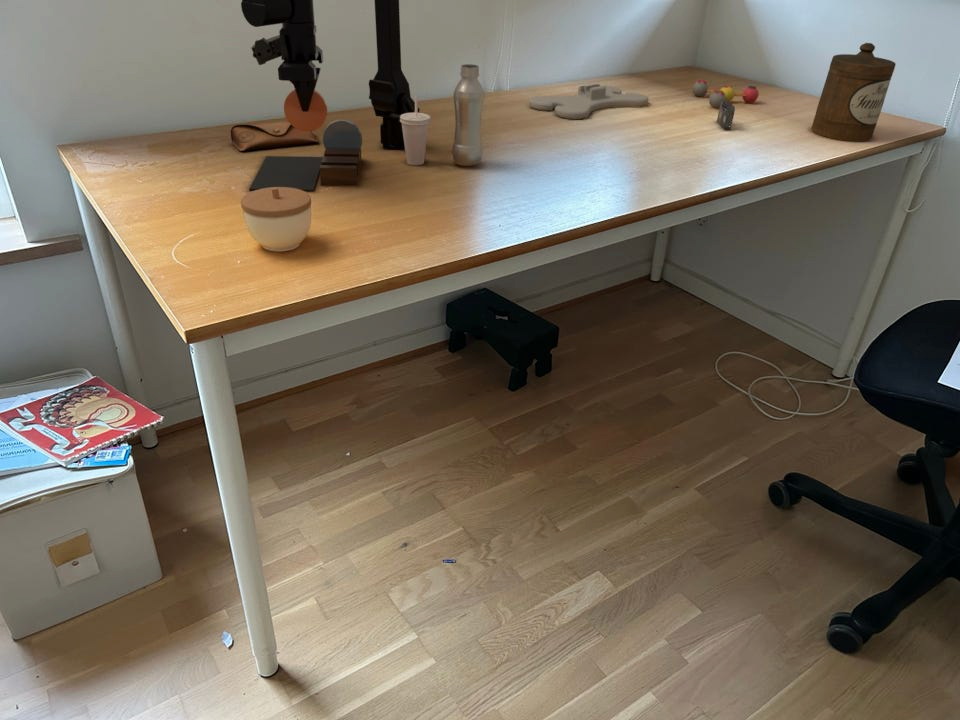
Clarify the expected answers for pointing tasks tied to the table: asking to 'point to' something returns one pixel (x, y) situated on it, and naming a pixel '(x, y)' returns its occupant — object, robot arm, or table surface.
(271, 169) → the grey mat
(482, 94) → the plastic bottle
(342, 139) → the blue-grey coaster
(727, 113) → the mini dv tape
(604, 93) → the holder
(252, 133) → the sunglasses case
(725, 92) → the molecule model
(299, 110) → the terracotta coaster
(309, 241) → the table surface
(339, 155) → the coaster rack
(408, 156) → the smoothie
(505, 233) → the table surface
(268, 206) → the trinket box
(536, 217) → the table surface
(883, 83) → the wooden container
